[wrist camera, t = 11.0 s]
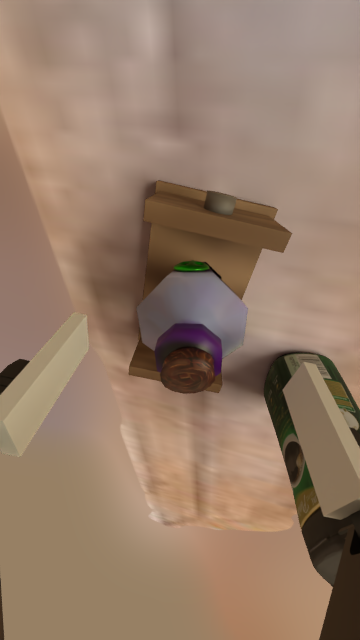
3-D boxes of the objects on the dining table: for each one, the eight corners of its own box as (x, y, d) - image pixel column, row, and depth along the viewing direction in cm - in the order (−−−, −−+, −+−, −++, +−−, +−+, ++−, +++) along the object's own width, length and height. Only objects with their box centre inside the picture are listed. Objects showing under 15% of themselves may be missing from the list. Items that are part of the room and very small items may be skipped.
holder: (159, 174, 19) (138, 178, 13) (276, 202, 19) (308, 217, 13) (140, 336, 28) (122, 380, 23) (217, 352, 29) (220, 400, 23)
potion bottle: (221, 227, 19) (238, 288, 10) (249, 307, 24) (281, 409, 14) (136, 265, 22) (80, 345, 12) (174, 331, 26) (156, 432, 16)
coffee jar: (314, 401, 32) (413, 612, 17) (257, 397, 33) (304, 597, 18) (341, 350, 27) (522, 590, 12) (273, 346, 28) (359, 570, 12)
